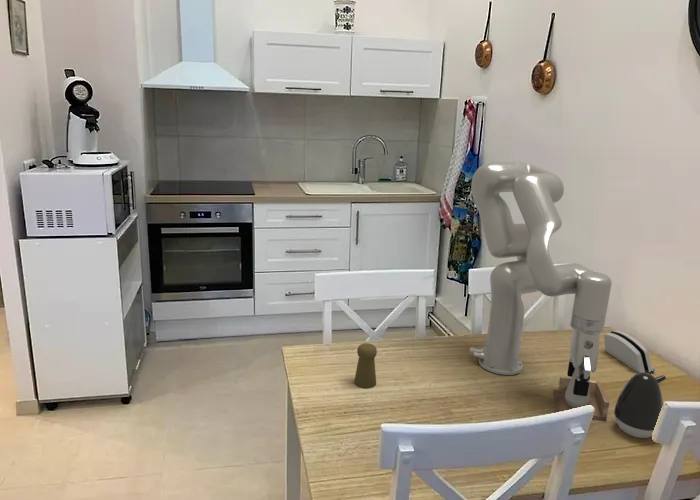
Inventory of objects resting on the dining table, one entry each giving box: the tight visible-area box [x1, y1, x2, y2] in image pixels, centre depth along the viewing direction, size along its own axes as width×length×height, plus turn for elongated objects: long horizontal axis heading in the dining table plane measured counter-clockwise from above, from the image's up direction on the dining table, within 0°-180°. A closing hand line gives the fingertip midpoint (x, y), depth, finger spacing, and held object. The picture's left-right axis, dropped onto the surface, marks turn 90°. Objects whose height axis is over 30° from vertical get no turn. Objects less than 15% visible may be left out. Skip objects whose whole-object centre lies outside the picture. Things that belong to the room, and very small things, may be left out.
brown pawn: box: [353, 342, 378, 390], centre depth 145 cm, size 6×6×11 cm
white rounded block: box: [603, 329, 657, 374], centre depth 165 cm, size 17×5×10 cm, turn 12°
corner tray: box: [553, 375, 610, 422], centre depth 139 cm, size 11×11×5 cm
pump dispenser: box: [613, 372, 667, 439], centre depth 127 cm, size 10×10×15 cm
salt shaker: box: [565, 366, 590, 408], centre depth 136 cm, size 6×6×13 cm
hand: (576, 385), depth 137 cm, fingers open, 9 cm apart
